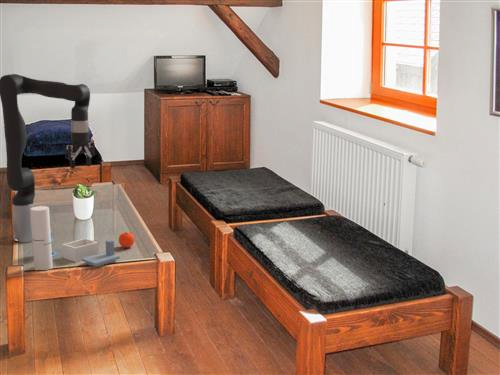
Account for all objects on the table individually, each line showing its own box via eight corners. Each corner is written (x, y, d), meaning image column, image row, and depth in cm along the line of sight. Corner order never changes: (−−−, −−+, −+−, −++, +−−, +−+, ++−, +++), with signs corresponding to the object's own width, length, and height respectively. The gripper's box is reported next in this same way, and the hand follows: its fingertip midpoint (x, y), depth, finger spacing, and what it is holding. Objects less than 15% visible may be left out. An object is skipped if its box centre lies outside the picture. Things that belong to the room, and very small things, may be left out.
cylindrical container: (34, 266, 307) (30, 206, 302) (52, 264, 309) (48, 205, 304) (34, 271, 301) (30, 211, 295) (53, 269, 303) (49, 209, 297)
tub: (75, 262, 312) (75, 248, 311) (63, 257, 318) (62, 244, 317) (99, 255, 321) (98, 242, 320) (86, 251, 327) (85, 238, 326)
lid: (95, 268, 304) (94, 248, 302) (81, 263, 310) (80, 244, 308) (119, 261, 313) (119, 242, 311) (105, 257, 319) (105, 238, 317)
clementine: (124, 243, 338) (123, 228, 337) (138, 245, 336) (137, 229, 335) (116, 248, 331) (115, 233, 329) (130, 250, 329) (129, 234, 327)
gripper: (87, 128, 334) (88, 163, 338) (61, 131, 323) (61, 168, 327) (98, 130, 329) (98, 166, 333) (71, 133, 319) (72, 170, 322)
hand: (80, 167), depth 330 cm, fingers open, 8 cm apart
